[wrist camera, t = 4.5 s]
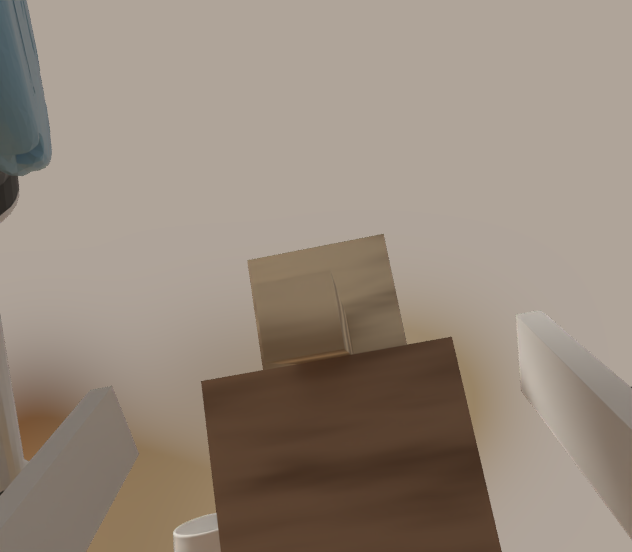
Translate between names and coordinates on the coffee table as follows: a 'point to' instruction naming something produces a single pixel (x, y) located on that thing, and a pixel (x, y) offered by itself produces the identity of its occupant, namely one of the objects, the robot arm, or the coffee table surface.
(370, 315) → the stepped beige block
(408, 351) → the stand
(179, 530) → the drinking glass
